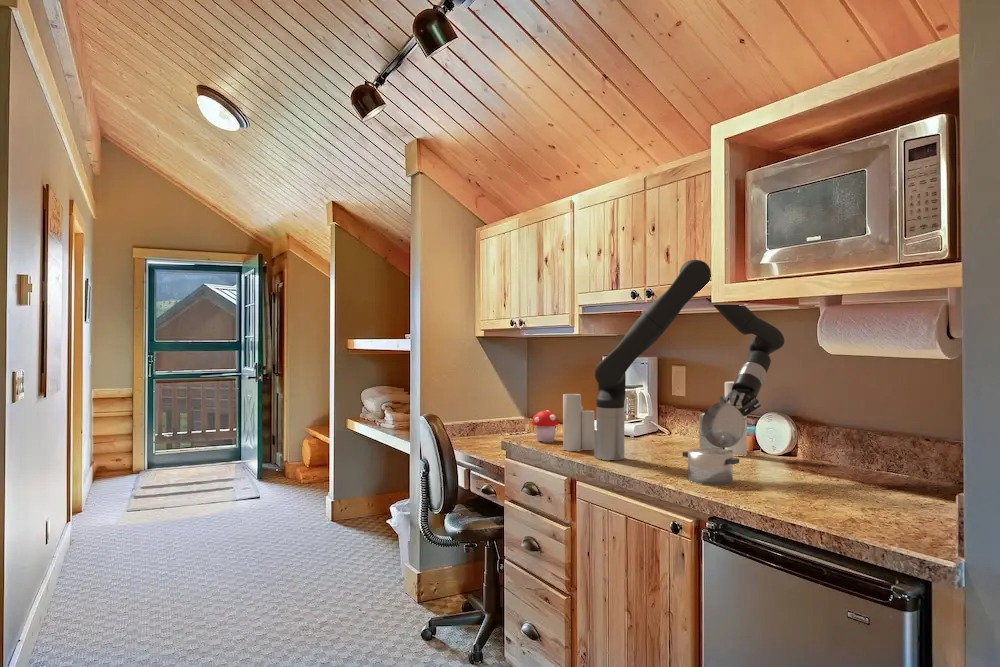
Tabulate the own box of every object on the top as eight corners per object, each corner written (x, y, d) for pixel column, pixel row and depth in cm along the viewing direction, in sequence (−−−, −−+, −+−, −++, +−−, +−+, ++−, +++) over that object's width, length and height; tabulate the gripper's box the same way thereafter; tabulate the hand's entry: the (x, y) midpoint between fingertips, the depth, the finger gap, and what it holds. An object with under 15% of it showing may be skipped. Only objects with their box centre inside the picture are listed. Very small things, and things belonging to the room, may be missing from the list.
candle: (567, 452, 228) (567, 395, 229) (559, 448, 235) (559, 393, 235) (596, 450, 232) (596, 394, 232) (588, 447, 239) (588, 393, 239)
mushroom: (550, 443, 246) (550, 412, 246) (525, 441, 252) (525, 410, 252) (563, 440, 255) (563, 409, 255) (539, 437, 261) (539, 408, 261)
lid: (703, 400, 192) (709, 401, 194) (700, 444, 191) (706, 445, 193) (744, 404, 182) (750, 405, 185) (741, 450, 181) (747, 450, 183)
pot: (673, 478, 185) (673, 450, 185) (700, 472, 194) (699, 445, 194) (725, 488, 172) (724, 458, 173) (750, 481, 181) (750, 452, 181)
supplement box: (705, 446, 240) (705, 412, 240) (725, 448, 236) (725, 413, 236) (698, 449, 234) (698, 414, 234) (719, 451, 230) (719, 415, 230)
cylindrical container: (748, 456, 218) (748, 383, 219) (726, 456, 220) (726, 382, 220) (745, 453, 225) (744, 381, 226) (723, 452, 227) (723, 381, 227)
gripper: (724, 371, 201) (703, 414, 193) (766, 373, 191) (745, 418, 183) (733, 387, 204) (713, 430, 196) (774, 390, 194) (755, 434, 186)
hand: (729, 424), depth 189 cm, fingers closed
